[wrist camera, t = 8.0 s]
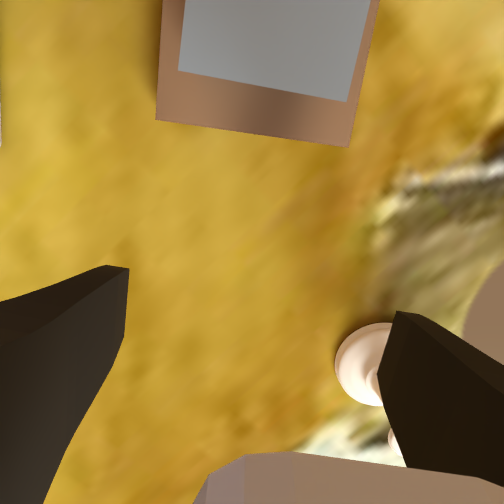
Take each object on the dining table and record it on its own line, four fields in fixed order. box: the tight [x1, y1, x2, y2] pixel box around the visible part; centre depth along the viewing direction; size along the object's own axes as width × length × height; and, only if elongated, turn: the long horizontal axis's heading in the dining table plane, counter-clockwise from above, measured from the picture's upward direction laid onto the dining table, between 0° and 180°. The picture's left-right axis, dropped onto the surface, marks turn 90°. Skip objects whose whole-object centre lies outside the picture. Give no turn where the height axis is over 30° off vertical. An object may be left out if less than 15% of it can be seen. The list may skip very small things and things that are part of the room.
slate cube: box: [178, 0, 371, 102], centre depth 15 cm, size 5×5×5 cm
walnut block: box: [156, 0, 380, 148], centre depth 18 cm, size 8×8×2 cm
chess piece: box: [335, 323, 403, 457], centre depth 20 cm, size 5×5×10 cm
